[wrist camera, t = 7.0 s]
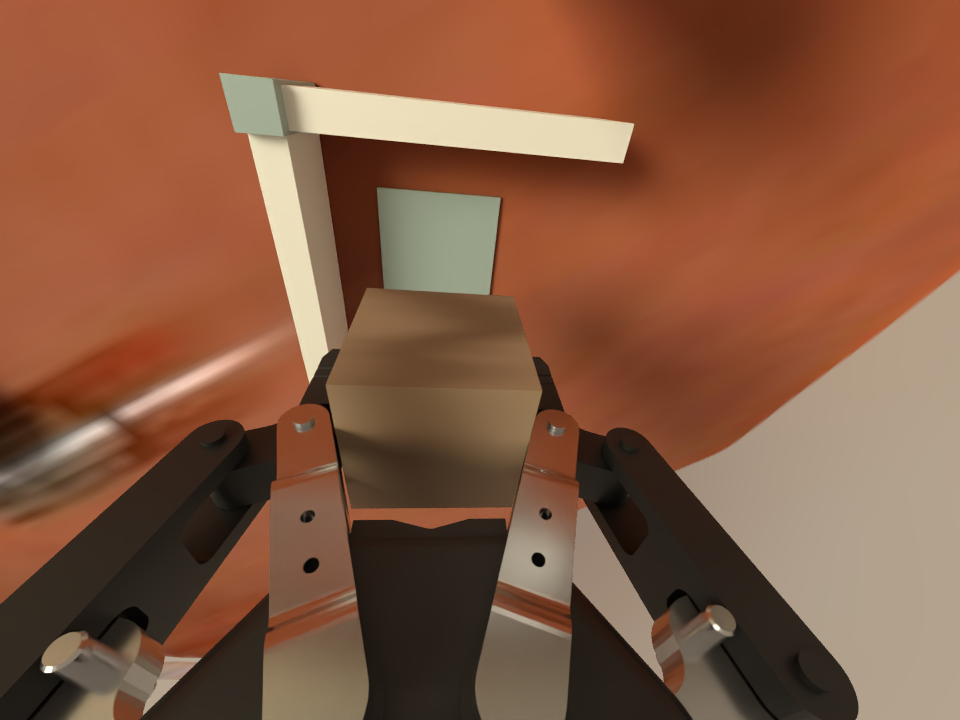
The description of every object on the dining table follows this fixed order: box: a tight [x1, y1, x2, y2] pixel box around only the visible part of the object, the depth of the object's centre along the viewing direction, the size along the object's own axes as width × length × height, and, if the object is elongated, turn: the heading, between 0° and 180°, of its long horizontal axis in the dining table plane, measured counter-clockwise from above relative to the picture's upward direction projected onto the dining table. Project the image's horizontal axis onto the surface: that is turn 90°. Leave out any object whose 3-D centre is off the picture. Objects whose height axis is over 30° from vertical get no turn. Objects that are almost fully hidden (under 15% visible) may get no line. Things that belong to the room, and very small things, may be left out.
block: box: [326, 288, 542, 509], centre depth 12 cm, size 5×5×5 cm
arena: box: [219, 73, 634, 383], centre depth 22 cm, size 22×16×5 cm
